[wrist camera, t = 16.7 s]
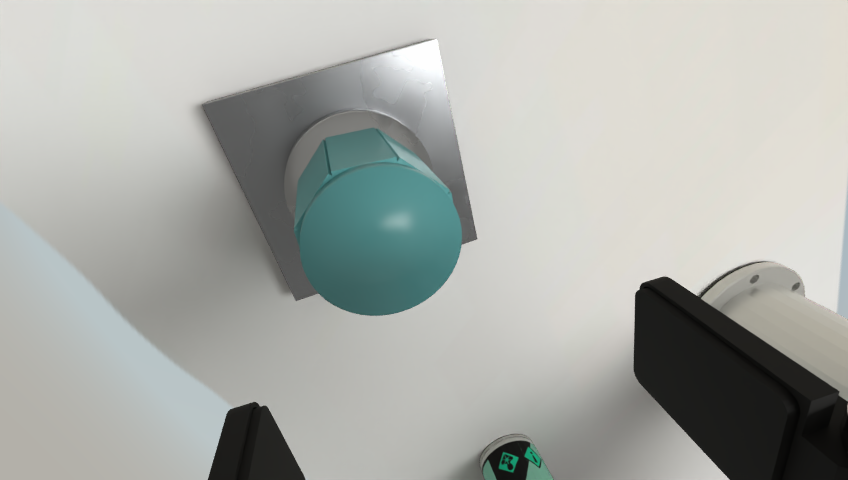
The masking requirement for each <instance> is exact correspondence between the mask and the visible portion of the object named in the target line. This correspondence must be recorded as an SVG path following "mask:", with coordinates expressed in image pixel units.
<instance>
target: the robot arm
mask: <svg viewBox="0 0 848 480" xmlns="http://www.w3.org/2000/svg"><path fill="white" fill-rule="evenodd" d="M634 373H635V376H636V378H637V380H638V381H639V383H640V384H641V385H642V386H643V387H644V388H645V389H646V390H647V391H648V393H649V394H650V395H651V396H652V397H653V398H654V399H655V400H656V401H657V402H658V403H659V404H660V405H661V406H662V408H663V409H664V410H665V411H666V412H667V413H668V414H669V415H670V416H671V417H672V418H673V419H674V420H675V421H676V423H677V424H678V425H679V426H680V427H681V428H682V429H683V430H684V431H685V432H686V433H687V434H688V435H689V436H690V438H691V439H692V440H693V441H694V442H695V443H696V444H697V445H698V446H699V447H700V448H701V449H702V450H703V452H704V453H705V454H706V455H707V456H708V457H709V458H710V459H711V460H712V461H713V462H714V463H715V464H716V465H717V467H718V468H719V469H720V470H721V471H722V472H723V473H724V474H725V475H726V476H727V477H728V478H729V479H730V480H848V319H846V318H844V317H842V316H840V315H838V314H837V313H835V312H833V311H831V310H829V309H827V308H825V307H823V306H821V305H819V304H817V303H815V302H813V301H811V300H809V299H807V298H806V297H805V290H804V284H803V281H802V279H801V277H800V276H799V275H798V274H797V273H796V272H795V271H793V270H791V269H790V268H787V267H785V266H783V265H781V264H778V263H773V262H762V263H756V264H752V265H749V266H746V267H743V268H741V269H739V270H737V271H735V272H733V273H731V274H729V275H728V276H726V277H725V278H723V279H722V280H720V281H719V282H717V283H716V284H715V285H714V286H713V287H712V288H710V289H709V290H708V291H707V292H706V293H705V294H704V295H703V296H702V297H701V298H699V297H698V296H696V295H695V294H693V293H692V292H690V291H689V290H687V289H686V288H684V287H683V286H681V285H680V284H678V283H677V282H675V281H674V280H672V279H670V278H668V277H660V278H657V279H654V280H651V281H647V282H644V283H642V284H641V286H640V290H638V291H637V292H636V295H635V332H634ZM208 480H305V477H304V475H303V473H302V471H301V469H300V467H299V466H298V464H297V462H296V460H295V458H294V456H293V454H292V452H291V450H290V449H289V447H288V445H287V443H286V441H285V439H284V437H283V435H282V433H281V431H280V430H279V428H278V426H277V424H276V422H275V420H274V418H273V416H272V414H271V412H270V411H269V409H268V407H267V406H262V407H260V406H259V404H258V403H256V402H253V403H249V404H246V405H243V406H240V407H236V408H233V409H230V410H229V411H228V413H227V416H226V419H225V423H224V426H223V429H222V433H221V436H220V439H219V443H218V446H217V450H216V453H215V457H214V460H213V464H212V468H211V471H210V474H209V478H208Z"/></svg>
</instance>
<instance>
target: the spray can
mask: <svg viewBox="0 0 848 480" xmlns="http://www.w3.org/2000/svg"><path fill="white" fill-rule="evenodd" d="M479 463H480V468H481V471H482V474H483V476H484V479H485V480H554V479H553V478H552V476H551V474H550V472H549V470H548V469H547V467H546V465H545V463H544V461H543V460H542V458H541V456H540V454H539V453H538V451H537V449H536V447H535V445H534V444H533V442H532V441H531V439H530V438H528V437H527V436H524V435H520V434H513V435H507V436H504V437H502V438H500V439H498V440H496V441H494V442H493V443H491V444H490V445H489V446H488V447H487V448H486V449H485V450H484V452H483V453H482V455H481V458H480V462H479Z"/></svg>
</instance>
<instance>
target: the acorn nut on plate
mask: <svg viewBox="0 0 848 480" xmlns="http://www.w3.org/2000/svg"><path fill="white" fill-rule="evenodd" d="M202 106H203V108H204V110H205V112H206V114H207V116H208V118H209V120H210V122H211V125H212V127H213V129H214V131H215V133H216V135H217V137H218V139H219V141H220V143H221V145H222V148H223V150H224V152H225V154H226V156H227V158H228V160H229V162H230V164H231V166H232V168H233V170H234V173H235V175H236V177H237V179H238V181H239V183H240V185H241V187H242V189H243V191H244V193H245V196H246V198H247V200H248V202H249V204H250V206H251V208H252V210H253V212H254V214H255V216H256V219H257V221H258V223H259V225H260V227H261V229H262V231H263V233H264V235H265V237H266V239H267V241H268V244H269V246H270V248H271V250H272V252H273V254H274V256H275V258H276V260H277V262H278V264H279V267H280V269H281V271H282V273H283V275H284V277H285V279H286V281H287V283H288V285H289V287H290V289H291V292H292V294H293V296H294V298H295V300H296V301H297V300H300V299H303V298H306V297H309V296H312V295H315V294H318V292H317V291H316V290H315V289H314V287H313V286H312V285H311V283H310V282H309V280H308V278H307V277H306V274H305V272H304V269H303V266H302V262H301V258H300V248H299V245H298V242H297V239H296V236H295V233H294V223H295V210H296V197H297V184H298V179H299V178H300V176H301V175H302V173H303V171H304V170H305V168H306V166H307V165H308V163H309V161H310V160H311V158H312V156H313V155H314V153H315V152H316V150H317V148H318V147H319V145H320V143H321V142H322V140H325V141H326V139H325V138H326V137H331V136H335V135H340V134H345V133H349V132H354V131H359V130H363V129H368V128H373V127H374V128H375V129H376V128H378V129H379V130H381V131H382V132H384V133H385V134H387V135H388V136H390V137H391V138H393V139H394V140H396V141H397V142H399V143H400V144H402V145H403V146H405V147H406V148H408V149H409V150H411V151H412V152H414V153H415V154H416V155H417V156H418V157H419V158H420V159H421V160H422V161H423V162H424V163H425V164H426V165H427V166H428V167H429V168H430V170H431V171H432V172H433V173H434V174H435V175H436V176H437V177H438V178H439V179H440V180H441V181H442V182H443V183H444V184H445V185H446V186H447V187H448V189H449V190H450V192H451V193H452V199H453V204H454V206H455V208H456V210H457V213H458V215H459V218H460V223H461V228H462V243H461V245H462V244H465V243H467V242H470V241H473V240H476V239H477V236H476V231H475V226H474V221H473V216H472V211H471V206H470V201H469V196H468V191H467V186H466V181H465V176H464V171H463V166H462V161H461V156H460V151H459V146H458V141H457V136H456V131H455V126H454V121H453V116H452V111H451V106H450V101H449V96H448V91H447V86H446V81H445V76H444V71H443V66H442V61H441V56H440V51H439V46H438V41H437V39H429V40H426V41H422V42H419V43H415V44H411V45H408V46H404V47H401V48H397V49H394V50H390V51H386V52H383V53H379V54H376V55H372V56H369V57H365V58H362V59H358V60H354V61H351V62H347V63H344V64H340V65H337V66H333V67H329V68H326V69H322V70H319V71H315V72H312V73H308V74H304V75H301V76H297V77H294V78H290V79H287V80H283V81H279V82H276V83H272V84H269V85H265V86H262V87H258V88H254V89H251V90H247V91H244V92H240V93H237V94H233V95H229V96H226V97H222V98H219V99H215V100H212V101H208V102H206V103H204V104H203V105H202Z"/></svg>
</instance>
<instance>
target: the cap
mask: <svg viewBox="0 0 848 480" xmlns="http://www.w3.org/2000/svg"><path fill="white" fill-rule="evenodd" d="M325 139H326V141H325V140H322V142H321V143H320V145H319V147H318V148H317V150H316V152H315V153H314V155H313V156H312V158H311V160H310V161H309V163H308V165H307V166H306V168H305V170H304V171H303V173H302V175H301V176H300V178H299V179H298V184H297V197H296V210H295V223H294V233H295V236H296V239H297V242H298V245H299V248H300V258H301V262H302V266H303V269H304V272H305V274H306V277H307V278H308V280H309V282H310V283H311V285H312V286H313V287H314V289H315V290H316V291H317V292H318V293H319V294H320V295H321V296H322V297H323V298H324V299H325V300H327V301H328V302H330V303H331V304H333V305H335V306H337V307H339V308H341V309H343V310H346V311H349V312H352V313H356V314H360V315H370V316H380V315H389V314H394V313H398V312H402V311H404V310H407V309H410V308H412V307H414V306H416V305H418V304H420V303H422V302H423V301H425V300H426V299H428V298H429V297H430V296H432V295H433V294H434V293H435V292H436V291H437V290H438V289H440V288H441V286H442V285H443V284H444V283H445V282H446V281H447V279H448V278H449V276H450V275H451V273H452V271H453V269H454V267H455V265H456V263H457V260H458V257H459V254H460V250H461V243H462V228H461V223H460V218H459V215H458V213H457V210H456V208H455V206H454V204H453V199H452V193H451V192H450V190H449V189H448V187H447V186H446V185H445V184H444V183H443V182H442V181H441V180H440V179H439V178H438V177H437V176H436V175H435V174H434V173H433V172H432V171H431V170H430V168H429V167H428V166H427V165H426V164H425V163H424V162H423V161H422V160H421V159H420V158H419V157H418V156H417V155H416V154H415V153H414V152H412V151H411V150H409V149H408V148H406V147H405V146H403V145H402V144H400V143H399V142H397V141H396V140H394V139H393V138H391V137H390V136H388V135H387V134H385V133H384V132H382V131H381V130H379V129H378V128H376V129H375V128H374V127H373V128H368V129H363V130H359V131H354V132H349V133H345V134H340V135H335V136H331V137H326V138H325Z"/></svg>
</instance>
